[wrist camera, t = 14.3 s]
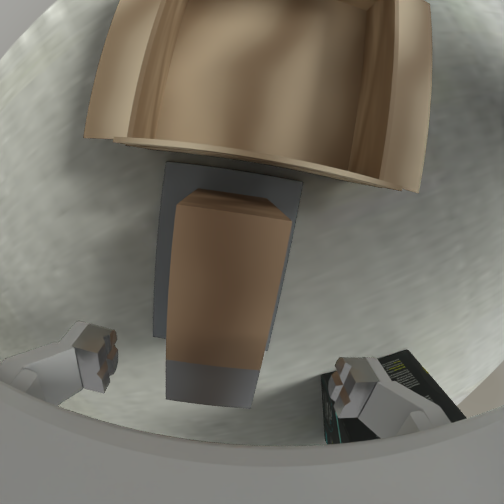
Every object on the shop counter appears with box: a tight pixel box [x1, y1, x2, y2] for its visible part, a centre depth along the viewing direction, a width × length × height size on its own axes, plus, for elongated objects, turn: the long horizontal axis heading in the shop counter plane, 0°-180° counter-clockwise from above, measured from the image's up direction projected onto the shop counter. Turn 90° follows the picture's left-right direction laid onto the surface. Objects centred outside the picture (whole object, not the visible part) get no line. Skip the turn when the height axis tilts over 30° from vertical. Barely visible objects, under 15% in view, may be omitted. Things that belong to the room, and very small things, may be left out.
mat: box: [153, 162, 303, 351], centre depth 20 cm, size 9×13×1 cm
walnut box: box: [166, 188, 292, 409], centre depth 16 cm, size 4×10×8 cm, turn 171°
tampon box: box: [321, 350, 467, 445], centre depth 19 cm, size 11×9×15 cm
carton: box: [83, 0, 432, 193], centre depth 13 cm, size 19×15×8 cm
